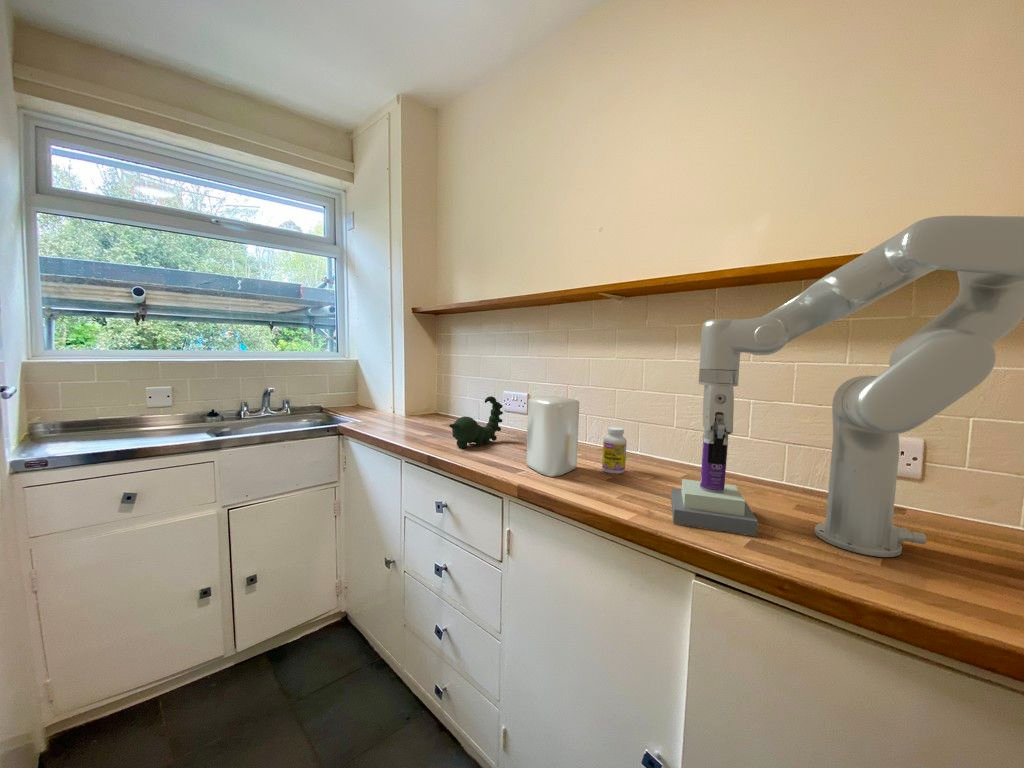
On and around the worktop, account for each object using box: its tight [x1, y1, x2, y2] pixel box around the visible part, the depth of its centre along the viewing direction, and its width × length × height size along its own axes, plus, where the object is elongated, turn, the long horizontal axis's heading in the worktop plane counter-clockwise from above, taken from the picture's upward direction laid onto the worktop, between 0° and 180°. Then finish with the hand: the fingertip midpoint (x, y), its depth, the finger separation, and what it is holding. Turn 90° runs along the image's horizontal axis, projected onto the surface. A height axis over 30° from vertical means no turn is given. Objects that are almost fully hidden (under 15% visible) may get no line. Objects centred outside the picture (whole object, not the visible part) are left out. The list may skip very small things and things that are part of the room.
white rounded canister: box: [525, 395, 580, 478], centre depth 120 cm, size 15×14×22 cm
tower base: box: [670, 478, 759, 537], centre depth 88 cm, size 15×15×6 cm
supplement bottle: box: [601, 426, 628, 475], centre depth 122 cm, size 7×7×13 cm
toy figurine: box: [448, 395, 504, 449], centre depth 151 cm, size 9×19×25 cm
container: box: [699, 419, 729, 493], centre depth 88 cm, size 5×5×15 cm
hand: (713, 458), depth 88 cm, fingers open, 9 cm apart
